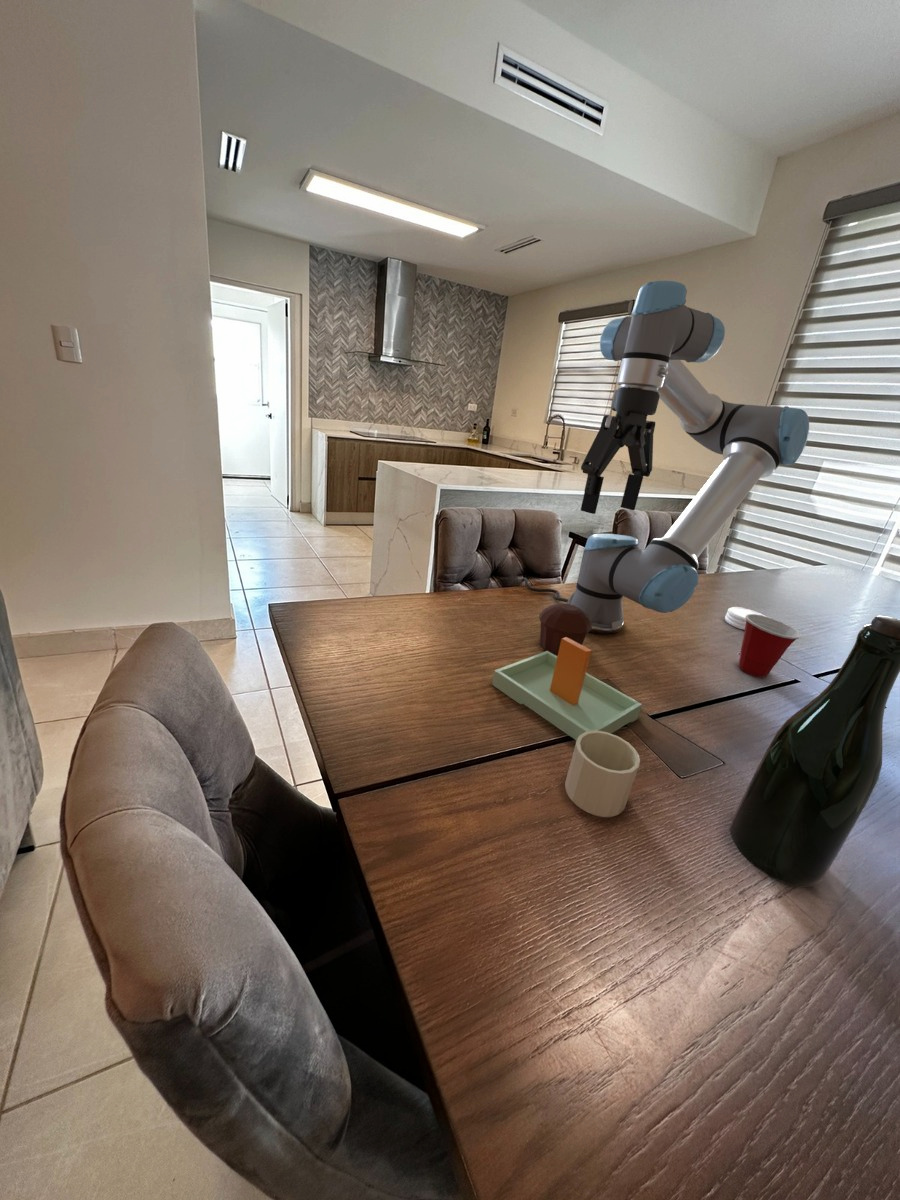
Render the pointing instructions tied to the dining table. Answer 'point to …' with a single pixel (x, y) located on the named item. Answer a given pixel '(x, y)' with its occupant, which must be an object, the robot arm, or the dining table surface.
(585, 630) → the muffin
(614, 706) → the tray
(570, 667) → the plate
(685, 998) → the dining table surface
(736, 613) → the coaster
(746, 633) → the plastic cup
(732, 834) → the beer bottle
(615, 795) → the sugar cup
